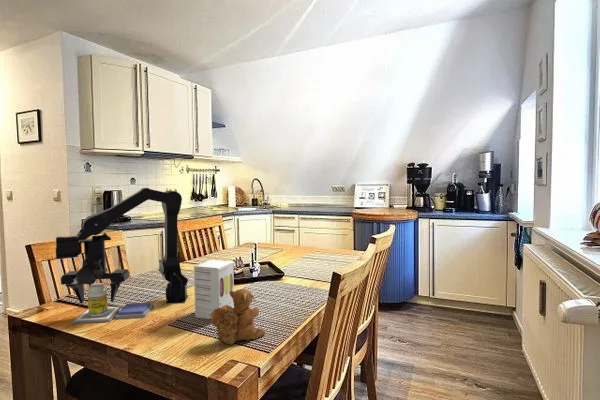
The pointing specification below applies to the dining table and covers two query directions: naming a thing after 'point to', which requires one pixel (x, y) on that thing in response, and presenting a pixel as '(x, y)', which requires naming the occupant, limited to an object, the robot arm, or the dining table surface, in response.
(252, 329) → the stuffed squirrel
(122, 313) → the ink pad
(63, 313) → the dining table surface
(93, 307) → the supplement bottle
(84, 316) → the marked board
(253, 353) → the dining table surface
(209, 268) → the supplement box
